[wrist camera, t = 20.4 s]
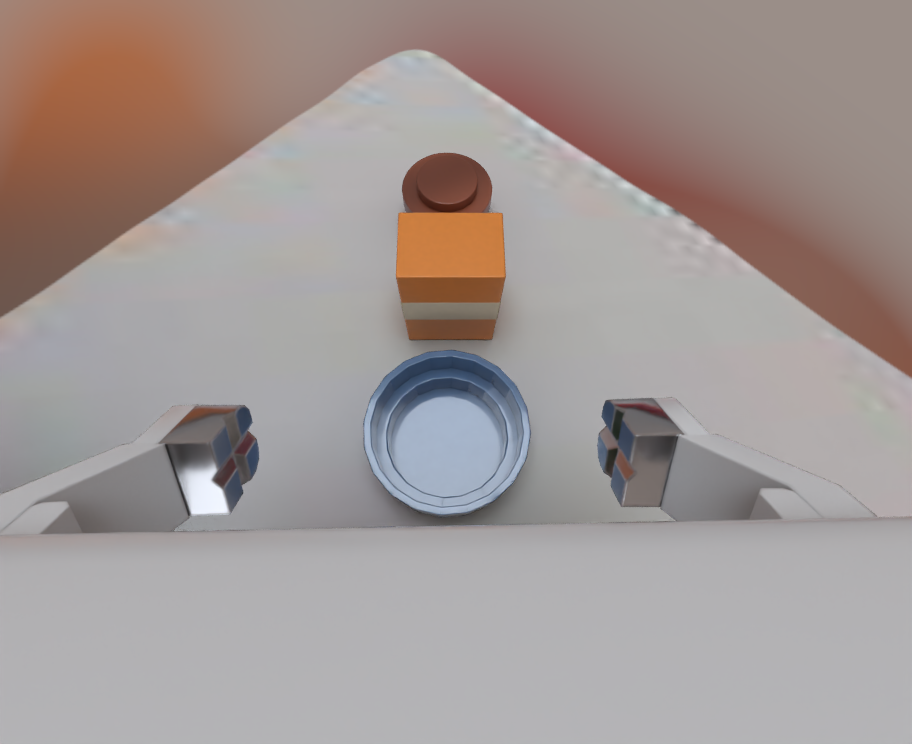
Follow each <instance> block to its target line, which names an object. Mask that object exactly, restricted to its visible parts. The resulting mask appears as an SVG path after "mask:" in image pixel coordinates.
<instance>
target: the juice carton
mask: <svg viewBox="0 0 912 744" xmlns="http://www.w3.org/2000/svg"><path fill="white" fill-rule="evenodd" d="M505 278H506V272H505V252H504V233H503V214H502V213H399V215H398V240H397V264H396V279H397V284H398V289H399V293H400V298H401V305H402V310H403V314H404V319H405V322H406V327H407V331H408V336H409V339H410V340H420V339H492V337H493V332H494V328H495V323H496V319H497V316H498V312H499V307H500V303H501V301H500V300H501V296H502V291H503V287H504V282H505Z"/></svg>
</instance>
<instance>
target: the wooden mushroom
mask: <svg viewBox="0 0 912 744" xmlns="http://www.w3.org/2000/svg"><path fill="white" fill-rule="evenodd" d="M402 193H403V201H404V207H405V211H406V213H488V212H489V209H490V204H491V196H492V184H491V180H490V178H489V176H488V174H487V172H486V171H485V169H484V168H483V167H482V166H481V165H480V164H479V163H477V162H476V161H474V160H473V159H471V158H469V157H467V156H464V155H460V154H456V153H438V154H433V155H430V156H427V157H425V158H423V159H421V160H419V161H418V162H417V163H415V164H414V165H413V166H412V167H411V168H410V169H409V171H408V172H407V174H406V175H405V178H404V180H403V185H402Z"/></svg>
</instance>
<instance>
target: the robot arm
mask: <svg viewBox="0 0 912 744" xmlns="http://www.w3.org/2000/svg"><path fill="white" fill-rule="evenodd" d="M602 418H603V420H604V422H605V423H606V426H605V427H604V429H603V430H602V431H601V432H600V433H599V437H598V445H597V446H598V458H599V462H600V466H601V468H602V470H603V472H604V473H605V474H606V475H608V476H610V477H611V478H612V480H611V488H612V490H613V492H614V494H615V496H616V498H617V500H618V502H619V504H620V505H621V507H661V508H660V509H662V510H663V511H664V512H666V513H667V514H668V515H669V516H671V517H672V518H673V519H675V520H676V521H657V522H608V523H559V524H510V525H461V526H412V527H362V528H313V529H263V530H213V531H173V530H174V529H175V528H177V527H178V526H179V525H181V524H182V523H183V522H185V521H186V520H187V519H189V516H204V515H225V514H231V512H232V511H233V509H234V507H235V506H236V504H237V502H238V501H239V499H240V498H241V496H242V494H243V490H242V486H241V485H243V484H245V483H246V482H248V481H250V480H251V479H252V477H253V476H254V474H255V472H256V470H257V465H258V460H259V448H258V443H257V439H256V438H255V437H254V436H253V435H252V434H251V433H250V432H249V431H248V429H249V428H250V426H251V424H252V423H253V422H252V418H251V414H250V411H249V409H248V408H247V407H246V406H245V405H198V404H197V405H177V406H172V407H171V408H170V409H169V410H168V411H167V412H166V413H165V414H163V415H162V416H161V417H160V418H159V419H158V420H157V421H156V422H155V423H154V424H152V425H151V426H150V427H149V428H148V429H147V430H146V431H145V432H144V433H143V434H141V435H140V436H139V437H138V438H137V439H136V440H135V441H134V442H133V443H131V444H123V445H120V446H118V447H115V448H113V449H110V450H108V451H105V452H103V453H101V454H98V455H96V456H93V457H91V458H88V459H86V460H83V461H81V462H79V463H76V464H74V465H71V466H69V467H66V468H64V469H62V470H59V471H57V472H54V473H52V474H49V475H47V476H44V477H42V478H40V479H37V480H35V481H32V482H30V483H27V484H25V485H22V486H20V487H18V488H15V489H13V490H10V491H8V492H5V493H3V494H0V744H912V516H911V517H877V516H876V515H875V514H874V513H873V512H872V511H870V510H869V509H868V508H867V507H866V506H864V505H863V504H862V503H861V502H860V501H858V500H857V499H856V498H855V497H854V496H852V495H851V494H850V493H849V492H848V491H846V490H845V489H844V488H843V487H842V486H840V485H838V484H836V483H833V482H831V481H828V480H826V479H824V478H821V477H819V476H816V475H814V474H812V473H809V472H807V471H804V470H802V469H800V468H797V467H795V466H792V465H790V464H788V463H785V462H783V461H780V460H778V459H776V458H773V457H771V456H769V455H766V454H764V453H761V452H759V451H757V450H754V449H752V448H749V447H747V446H745V445H742V444H740V443H737V442H735V441H733V440H730V439H728V438H725V437H723V436H721V435H718V434H710V433H709V432H708V431H707V430H706V429H705V428H704V427H703V426H702V425H701V424H700V423H699V422H698V421H697V420H696V419H695V418H694V417H693V416H692V415H691V414H690V413H689V412H688V410H687V409H686V408H685V407H684V406H683V405H682V404H681V403H680V402H679V401H678V400H677V399H675V398H672V397H666V398H640V399H615V400H606V401H605V404H604V406H603V411H602Z"/></svg>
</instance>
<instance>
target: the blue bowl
mask: <svg viewBox="0 0 912 744" xmlns="http://www.w3.org/2000/svg"><path fill="white" fill-rule="evenodd" d="M363 426H364V449H365V452H366V455H367V457H368V460H369V463H370V466H371V468H372V471H373V473H374V475H375V476H376V477H377V478H378V480H379V481H380V482H381V483H382V485H383V486H384V487H385V488H386V490H387V491H388V492H389V493H390V494H391V495H392V496H394V497H395V498H397V499H399V500H400V501H402V502H403V503H405V504H406V505H408V506H410V507H411V508H413V509H414V510H416V511H418V512H420V513H425V514H429V515H433V516H437V517H453V516H463V515H468V514H470V513H472V512H474V511H476V510H479V509H481V508H483V507H485V506H487V505H489V504H490V503H492V502H493V501H495V500H496V499H497V498H498V497H499V496H500V495H501V494H502V493H503V492H504V491H505V490H506V489H507V488H509V487H510V486H511V485H512V484H513V482H514V481H515V479H516V478H517V476H518V474H519V472H520V470H521V468H522V466H523V464H524V463H525V461H526V458H527V453H528V447H529V441H530V435H531V430H530V424H529V417H528V410H527V407H526V405H525V403H524V401H523V399H522V397H521V394H520V392H519V390H518V388H517V386H516V385H515V384H514V383H513V382H512V381H511V380H510V379H509V377H508V376H507V375H506V374H505V373H504V372H503V371H502V370H501V369H500V368H499V367H497V366H496V365H494V364H492V363H490V362H488V361H487V360H485V359H483V358H481V357H479V356H477V355H474V354H469V353H465V352H460V351H455V350H446V351H434V352H427V353H424V354H421V355H419V356H416V357H414V358H411V359H409V360H406V361H404V362H403V363H402V364H400V365H399V366H398V367H397V368H395V369H394V370H393V371H391V372H390V373H389V374H388V375H386V376H385V377H384V379H383V380H382V382H381V383H380V385H379V386H378V388H377V389H376V391H375V392H374V394H373V395H372V396H371V398H370V402H369V405H368V408H367V412H366V415H365V418H364V423H363Z"/></svg>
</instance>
